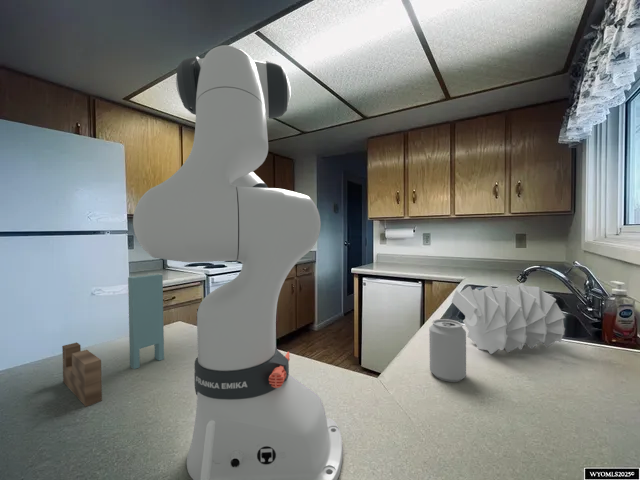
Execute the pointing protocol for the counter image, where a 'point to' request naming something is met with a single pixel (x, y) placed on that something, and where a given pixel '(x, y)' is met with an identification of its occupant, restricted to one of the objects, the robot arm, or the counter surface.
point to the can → (447, 350)
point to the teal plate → (145, 316)
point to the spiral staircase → (510, 317)
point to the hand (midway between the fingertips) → (180, 214)
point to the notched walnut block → (82, 373)
